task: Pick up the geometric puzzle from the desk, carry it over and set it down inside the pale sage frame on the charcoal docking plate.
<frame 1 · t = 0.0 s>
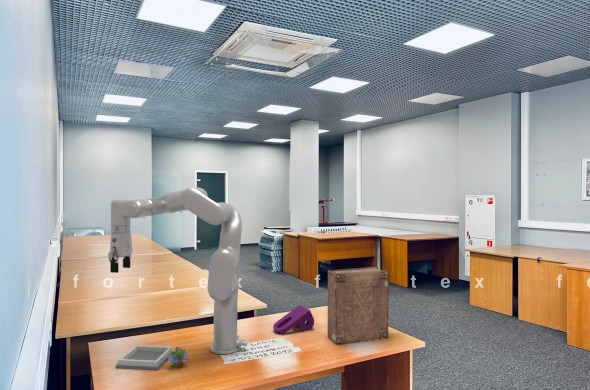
hand: (120, 270, 170), 31 cm above the table, tool pointing down, fingers open, 9 cm apart
book: (357, 338, 179), on the table
docking station: (146, 360, 154), on the table
mounting bracket: (292, 330, 189), on the table
geometric puzzle: (178, 366, 150), on the table
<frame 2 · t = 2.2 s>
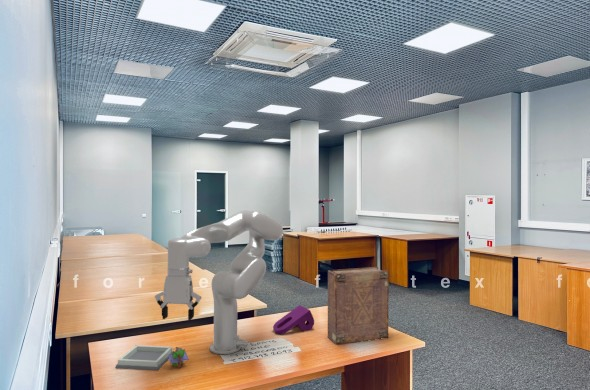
hand: (177, 318, 149), 18 cm above the table, tool pointing down, fingers open, 9 cm apart
nothing on the table moved.
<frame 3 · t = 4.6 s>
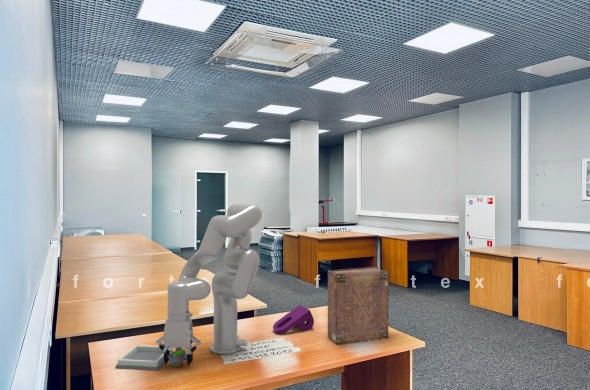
hand: (178, 362, 150), 1 cm above the table, tool pointing down, fingers closed on geometric puzzle, 8 cm apart
geometric puzzle: (178, 366, 150), on the table, touching gripper
everything else where it was.
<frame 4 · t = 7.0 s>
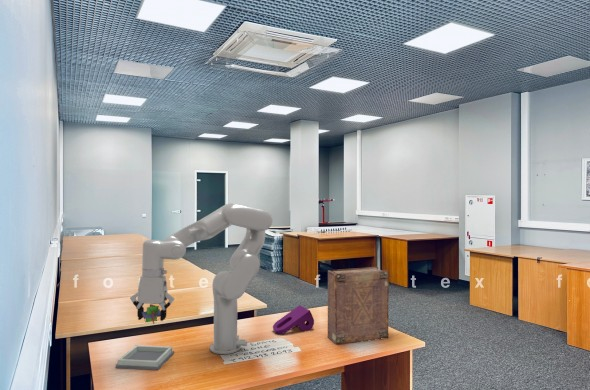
hand: (151, 319, 153), 16 cm above the table, tool pointing down, fingers closed on geometric puzzle, 7 cm apart
geometric puzzle: (151, 323, 153), point 15 cm above the table, touching gripper
everything else where it was.
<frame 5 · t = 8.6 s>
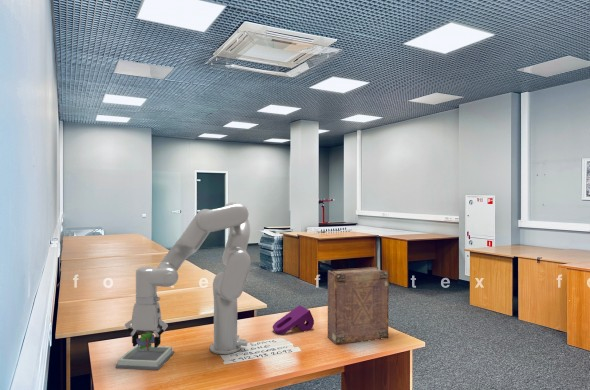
hand: (146, 345, 154), 6 cm above the table, tool pointing down, fingers closed on geometric puzzle, 7 cm apart
geometric puzzle: (146, 349, 154), point 4 cm above the table, touching gripper
everything else where it was.
when the fingers open (3 cm above the table, at t = 9.7 s): geometric puzzle stays where it is, resting on docking station.
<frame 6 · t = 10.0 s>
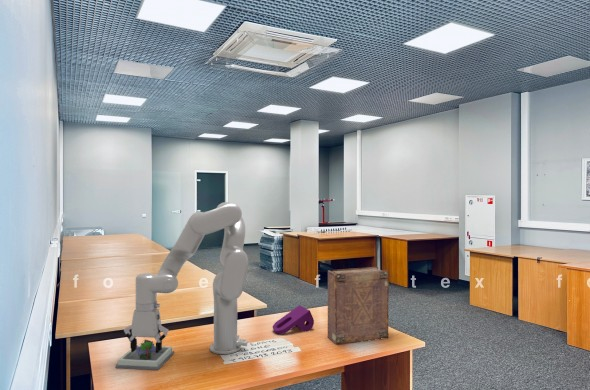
hand: (146, 351, 154), 4 cm above the table, tool pointing down, fingers open, 9 cm apart
geometric puzzle: (146, 358, 154), point 1 cm above the table, touching docking station
everything else where it was.
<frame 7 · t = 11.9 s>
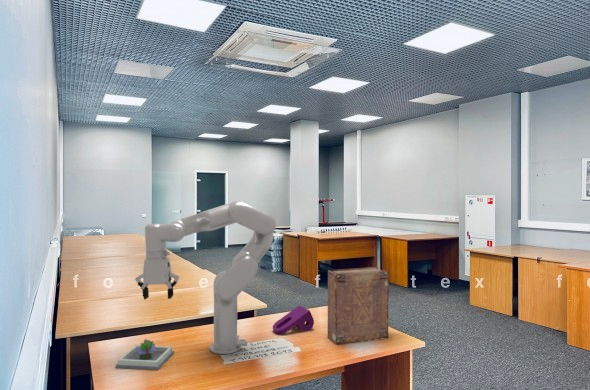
hand: (158, 298, 160), 22 cm above the table, tool pointing down, fingers open, 9 cm apart
nothing on the table moved.
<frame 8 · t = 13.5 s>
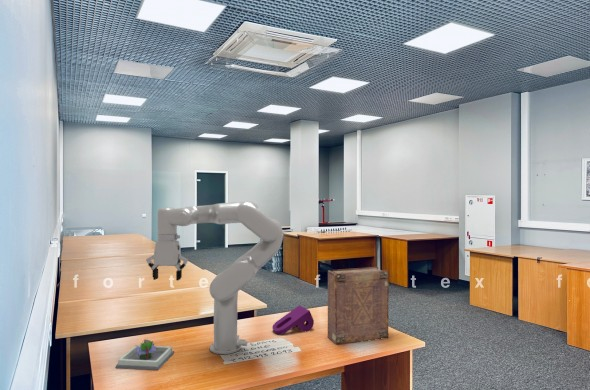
hand: (167, 279, 166), 28 cm above the table, tool pointing down, fingers open, 9 cm apart
nothing on the table moved.
at the end: geometric puzzle 0.0 cm off-centre on the docking station, point 0.8 cm above the docking station's base; geometric puzzle tilted 0°; the gripper is holding nothing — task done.
